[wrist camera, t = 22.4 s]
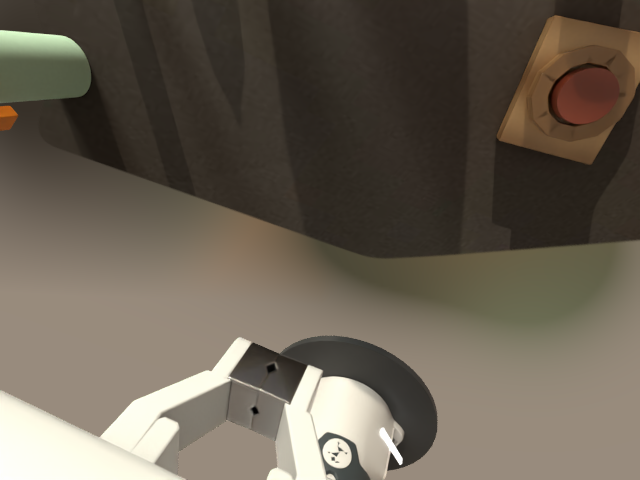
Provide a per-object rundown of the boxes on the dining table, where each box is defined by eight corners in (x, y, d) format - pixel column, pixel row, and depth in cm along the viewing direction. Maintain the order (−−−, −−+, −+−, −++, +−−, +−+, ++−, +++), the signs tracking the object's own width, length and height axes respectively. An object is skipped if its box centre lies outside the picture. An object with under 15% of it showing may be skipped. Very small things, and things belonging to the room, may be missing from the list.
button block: (582, 159, 34) (599, 170, 30) (495, 136, 35) (501, 144, 32) (651, 40, 29) (679, 35, 26) (547, 18, 30) (561, 11, 27)
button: (592, 127, 29) (600, 130, 28) (541, 114, 30) (546, 116, 29) (621, 74, 28) (632, 75, 26) (566, 62, 28) (574, 61, 27)
